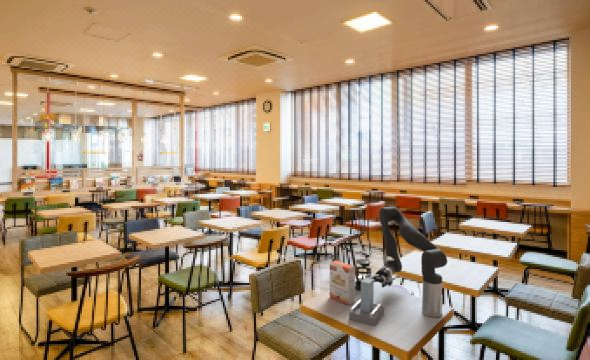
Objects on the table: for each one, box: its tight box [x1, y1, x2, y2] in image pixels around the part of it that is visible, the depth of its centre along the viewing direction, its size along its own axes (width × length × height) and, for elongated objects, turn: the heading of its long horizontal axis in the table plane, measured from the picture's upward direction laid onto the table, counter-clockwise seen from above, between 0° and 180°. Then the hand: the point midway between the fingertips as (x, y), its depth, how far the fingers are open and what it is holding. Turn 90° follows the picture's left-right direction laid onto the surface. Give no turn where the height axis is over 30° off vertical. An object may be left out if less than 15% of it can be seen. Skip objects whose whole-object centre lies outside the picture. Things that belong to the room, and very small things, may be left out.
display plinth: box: [348, 298, 385, 327], centre depth 177 cm, size 13×15×6 cm
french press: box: [355, 250, 372, 292], centre depth 212 cm, size 12×9×23 cm
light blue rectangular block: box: [360, 278, 375, 312], centre depth 176 cm, size 4×6×15 cm
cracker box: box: [329, 260, 356, 306], centre depth 196 cm, size 14×6×21 cm, turn 42°
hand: (374, 284), depth 185 cm, fingers open, 8 cm apart
